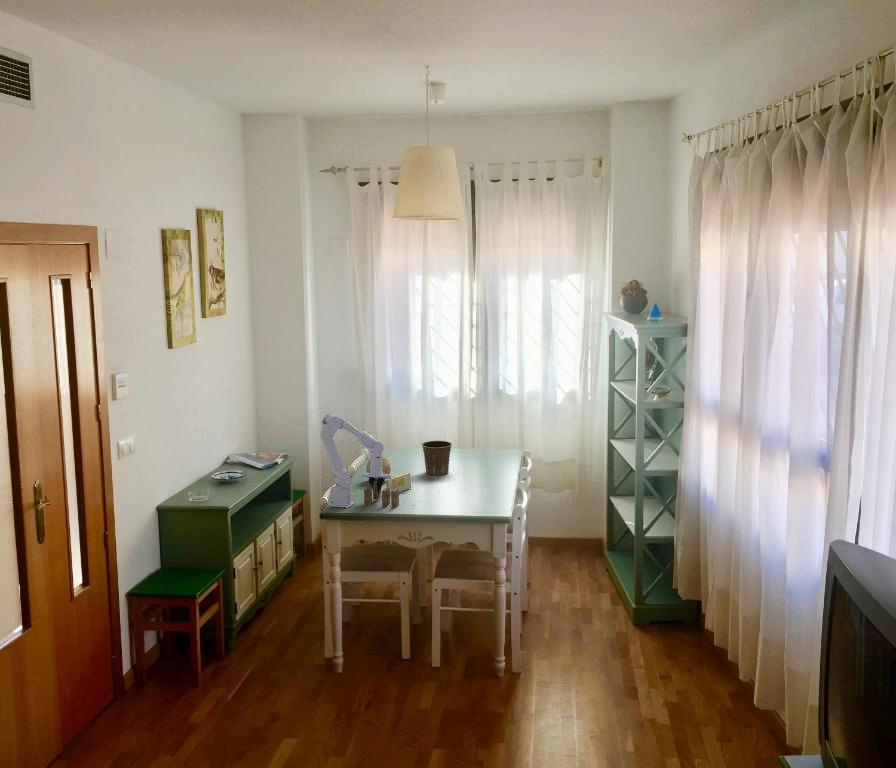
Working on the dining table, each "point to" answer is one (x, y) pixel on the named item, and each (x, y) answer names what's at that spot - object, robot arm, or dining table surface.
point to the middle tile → (385, 497)
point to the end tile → (367, 496)
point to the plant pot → (437, 457)
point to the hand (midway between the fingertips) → (376, 492)
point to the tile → (376, 491)
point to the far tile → (394, 498)
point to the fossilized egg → (385, 466)
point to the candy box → (399, 482)
